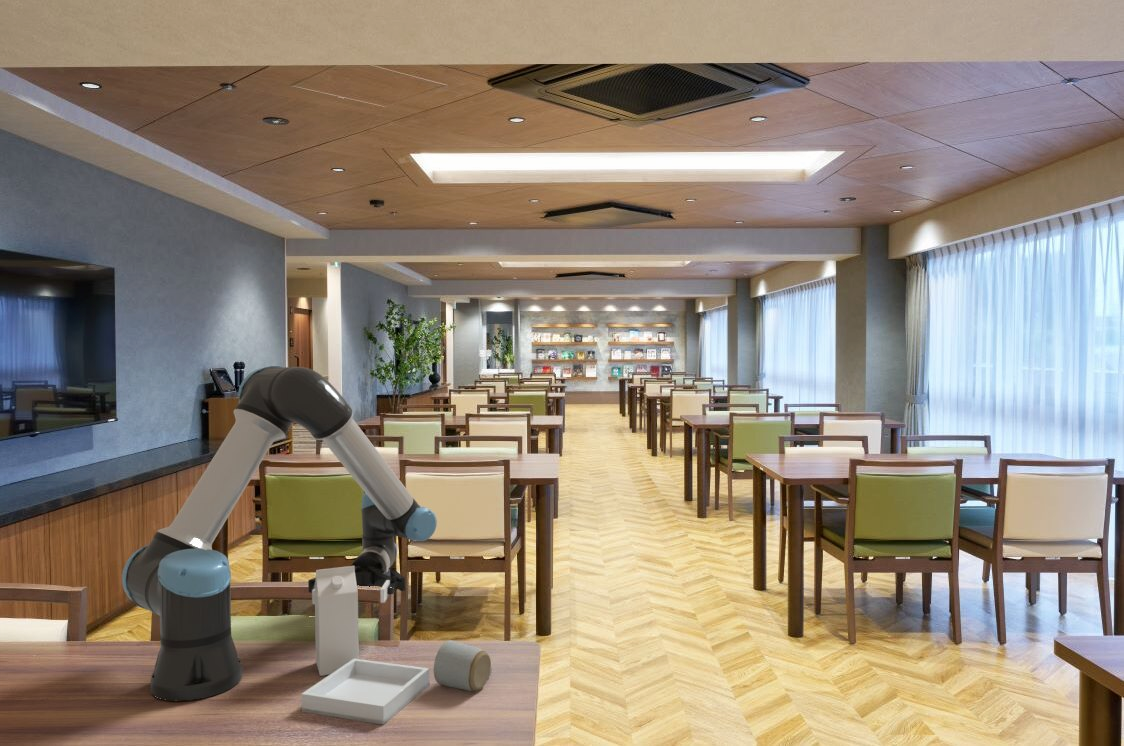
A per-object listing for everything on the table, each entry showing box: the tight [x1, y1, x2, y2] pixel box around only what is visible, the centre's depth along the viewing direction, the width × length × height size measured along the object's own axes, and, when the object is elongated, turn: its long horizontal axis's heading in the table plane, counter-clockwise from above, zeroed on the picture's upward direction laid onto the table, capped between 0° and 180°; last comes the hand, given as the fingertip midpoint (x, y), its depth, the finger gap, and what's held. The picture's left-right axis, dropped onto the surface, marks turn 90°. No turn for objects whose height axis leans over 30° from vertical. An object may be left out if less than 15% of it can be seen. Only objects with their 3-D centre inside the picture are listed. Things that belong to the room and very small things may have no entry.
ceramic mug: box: [433, 639, 493, 692], centre depth 141 cm, size 11×8×8 cm
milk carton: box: [314, 565, 360, 677], centre depth 148 cm, size 7×7×19 cm
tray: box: [301, 658, 430, 725], centre depth 135 cm, size 16×16×3 cm
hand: (348, 596), depth 156 cm, fingers open, 13 cm apart
